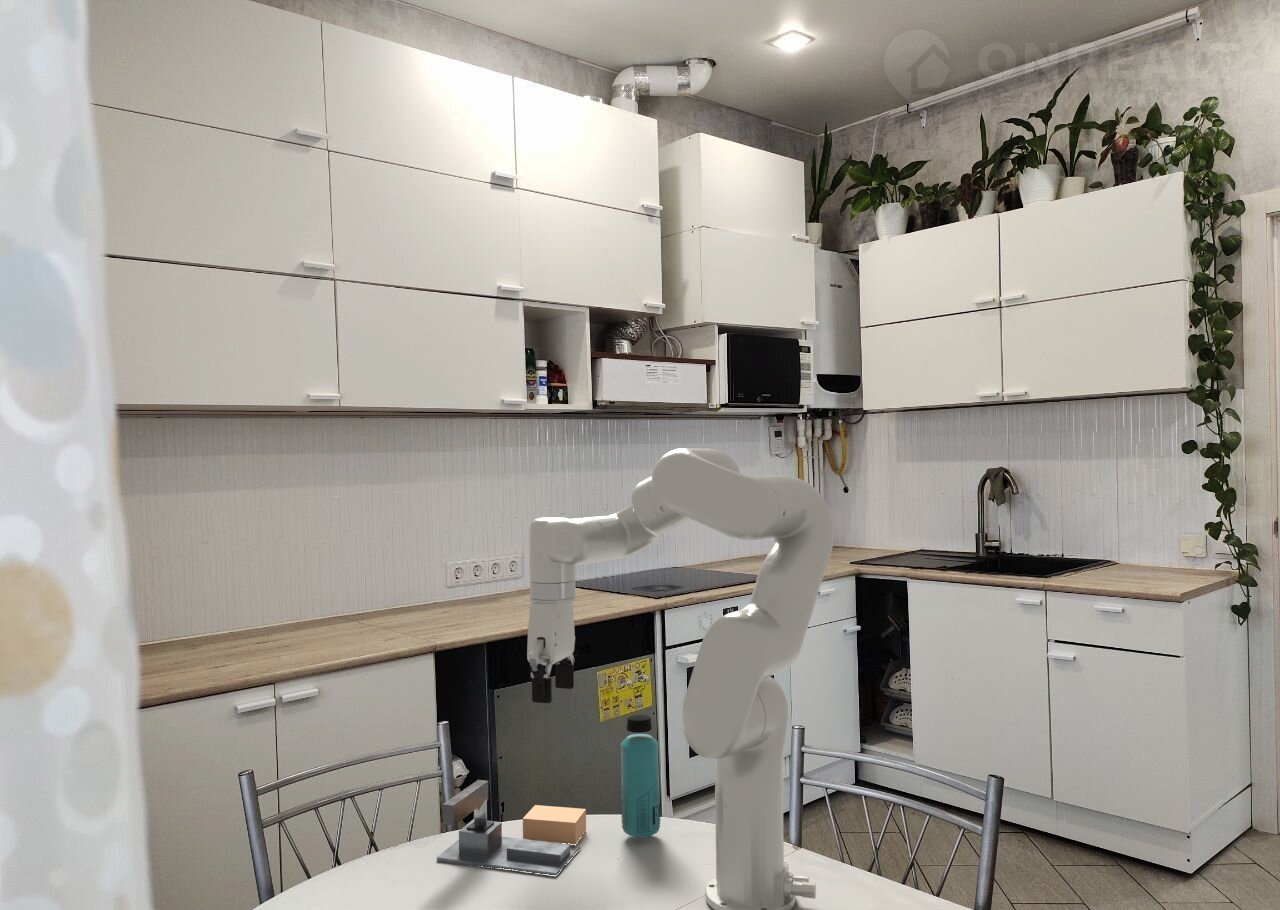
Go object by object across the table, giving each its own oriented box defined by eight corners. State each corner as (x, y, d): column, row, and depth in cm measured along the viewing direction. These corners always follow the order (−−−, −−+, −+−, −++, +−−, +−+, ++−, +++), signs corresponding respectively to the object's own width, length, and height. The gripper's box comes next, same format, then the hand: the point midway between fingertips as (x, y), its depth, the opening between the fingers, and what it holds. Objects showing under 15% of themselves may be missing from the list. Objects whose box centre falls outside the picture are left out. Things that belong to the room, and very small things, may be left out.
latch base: (580, 849, 145) (579, 822, 145) (556, 877, 135) (555, 848, 136) (467, 836, 151) (467, 810, 151) (436, 861, 141) (436, 833, 141)
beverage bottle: (657, 847, 145) (655, 722, 146) (616, 844, 147) (615, 720, 147) (664, 831, 152) (662, 711, 152) (625, 829, 153) (624, 710, 153)
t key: (454, 849, 135) (454, 805, 135) (442, 847, 135) (442, 804, 136) (489, 821, 145) (488, 781, 145) (477, 820, 146) (477, 779, 146)
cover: (586, 832, 152) (585, 809, 152) (575, 847, 147) (575, 822, 147) (535, 828, 154) (535, 805, 155) (522, 843, 149) (522, 818, 149)
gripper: (551, 584, 160) (552, 681, 160) (509, 598, 144) (510, 706, 144) (591, 585, 158) (592, 684, 158) (553, 600, 142) (554, 710, 142)
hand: (553, 695), depth 151 cm, fingers open, 9 cm apart
